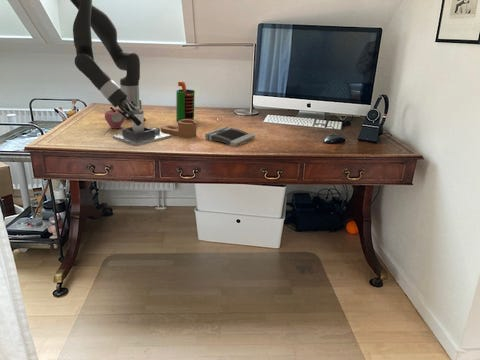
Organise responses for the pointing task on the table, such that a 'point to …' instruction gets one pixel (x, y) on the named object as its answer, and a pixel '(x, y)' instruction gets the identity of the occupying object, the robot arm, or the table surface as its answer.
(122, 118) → the apple
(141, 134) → the mount plate
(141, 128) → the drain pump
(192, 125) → the bracket
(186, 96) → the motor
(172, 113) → the table surface
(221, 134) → the grey square tray
